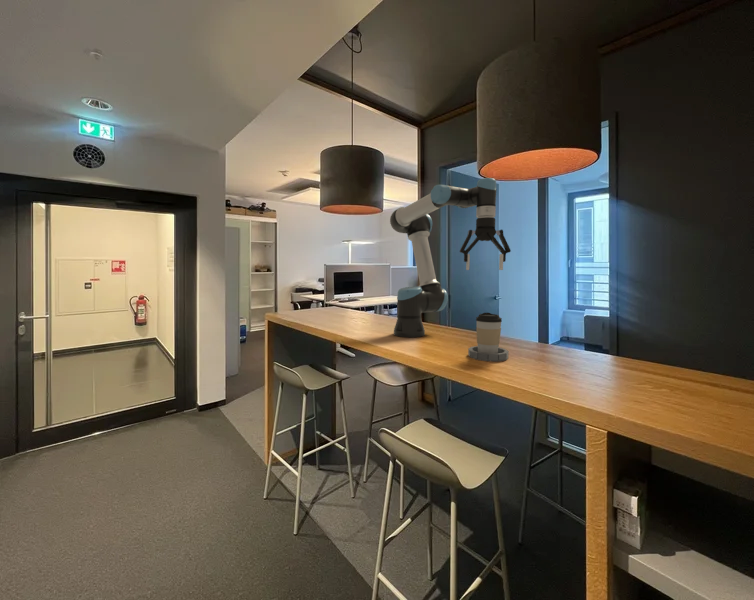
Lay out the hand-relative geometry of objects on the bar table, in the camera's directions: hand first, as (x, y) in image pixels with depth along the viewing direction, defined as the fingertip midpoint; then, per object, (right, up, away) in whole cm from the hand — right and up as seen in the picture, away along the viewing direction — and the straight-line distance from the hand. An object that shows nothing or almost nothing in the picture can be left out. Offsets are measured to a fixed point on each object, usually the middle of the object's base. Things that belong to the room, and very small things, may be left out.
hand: (484, 270), depth 145 cm
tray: (-4, -33, -17) cm, 37 cm away
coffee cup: (-4, -33, -17) cm, 37 cm away
